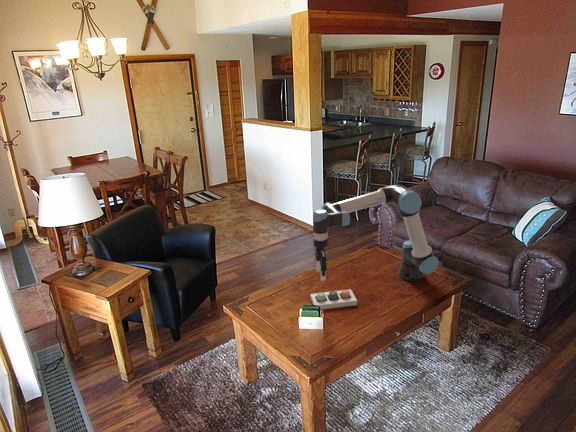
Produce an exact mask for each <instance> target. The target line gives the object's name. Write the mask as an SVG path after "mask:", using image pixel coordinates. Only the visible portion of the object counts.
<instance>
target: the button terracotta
mask: <svg viewBox="0 0 576 432" xmlns="http://www.w3.org/2000/svg"><path fill="white" fill-rule="evenodd" d="M341 290H342V291H341V299H347V298H349V297H350V292H349V291H348V290H349V289H341Z"/></svg>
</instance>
